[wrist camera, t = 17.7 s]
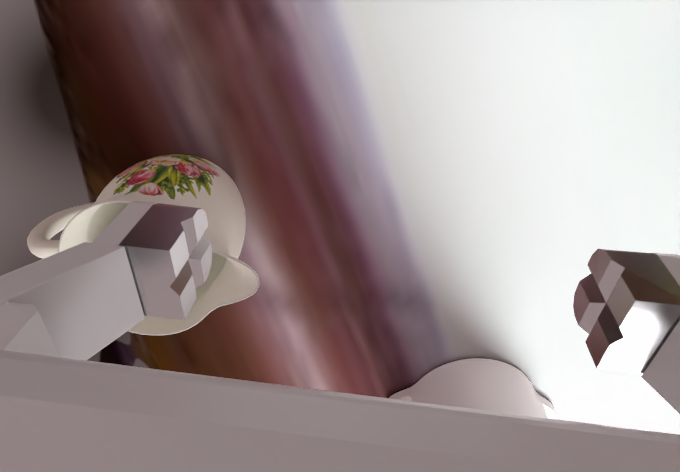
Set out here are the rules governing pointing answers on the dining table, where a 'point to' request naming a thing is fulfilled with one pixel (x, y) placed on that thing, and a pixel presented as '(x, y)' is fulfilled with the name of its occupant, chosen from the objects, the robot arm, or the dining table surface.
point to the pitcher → (174, 189)
